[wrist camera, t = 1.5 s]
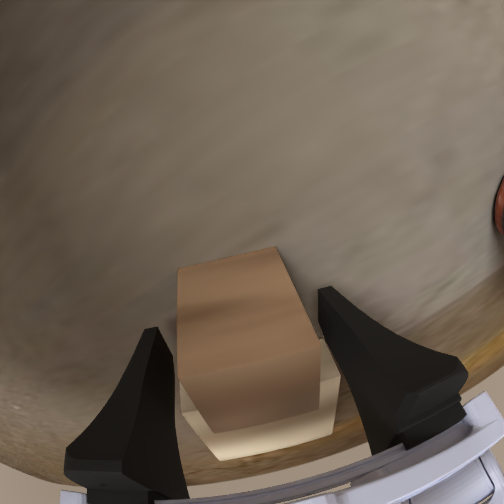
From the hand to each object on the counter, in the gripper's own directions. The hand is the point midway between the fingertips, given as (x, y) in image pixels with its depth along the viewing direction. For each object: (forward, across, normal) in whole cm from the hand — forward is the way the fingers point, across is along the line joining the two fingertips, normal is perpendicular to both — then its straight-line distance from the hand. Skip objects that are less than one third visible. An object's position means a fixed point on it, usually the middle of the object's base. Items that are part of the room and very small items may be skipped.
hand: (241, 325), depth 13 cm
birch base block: (+2, 0, +10) cm, 10 cm away
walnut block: (+2, 0, 0) cm, 2 cm away
